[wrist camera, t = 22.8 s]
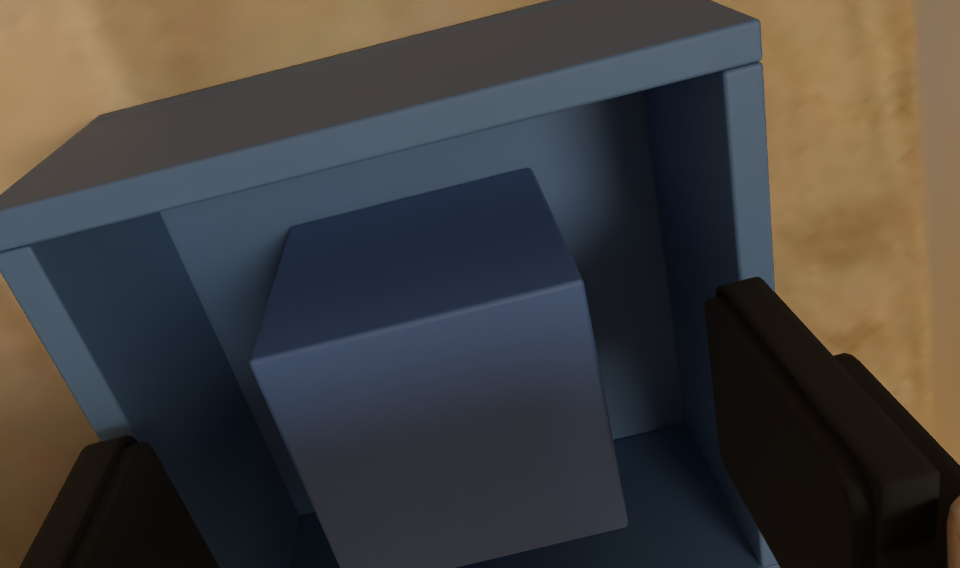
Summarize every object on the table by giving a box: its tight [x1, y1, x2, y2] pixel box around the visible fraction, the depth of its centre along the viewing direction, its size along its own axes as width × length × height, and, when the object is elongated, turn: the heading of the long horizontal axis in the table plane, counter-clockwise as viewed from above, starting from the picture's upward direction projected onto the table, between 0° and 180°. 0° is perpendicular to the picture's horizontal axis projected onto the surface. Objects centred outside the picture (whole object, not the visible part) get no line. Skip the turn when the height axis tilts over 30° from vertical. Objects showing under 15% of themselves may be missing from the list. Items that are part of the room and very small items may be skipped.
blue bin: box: [0, 0, 780, 568], centre depth 13 cm, size 10×10×4 cm
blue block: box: [250, 168, 628, 568], centre depth 13 cm, size 4×4×4 cm
